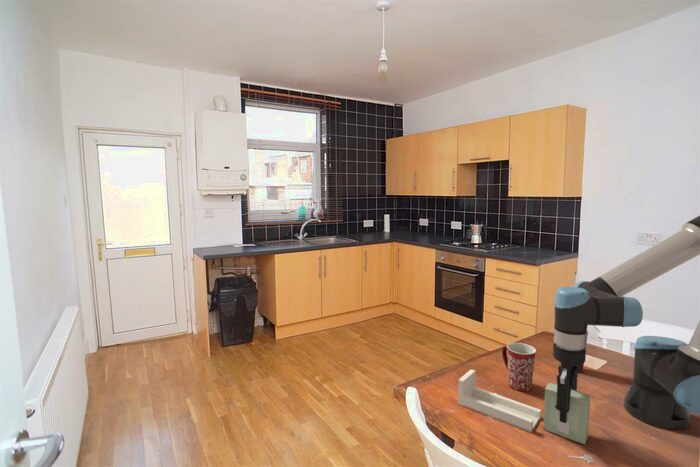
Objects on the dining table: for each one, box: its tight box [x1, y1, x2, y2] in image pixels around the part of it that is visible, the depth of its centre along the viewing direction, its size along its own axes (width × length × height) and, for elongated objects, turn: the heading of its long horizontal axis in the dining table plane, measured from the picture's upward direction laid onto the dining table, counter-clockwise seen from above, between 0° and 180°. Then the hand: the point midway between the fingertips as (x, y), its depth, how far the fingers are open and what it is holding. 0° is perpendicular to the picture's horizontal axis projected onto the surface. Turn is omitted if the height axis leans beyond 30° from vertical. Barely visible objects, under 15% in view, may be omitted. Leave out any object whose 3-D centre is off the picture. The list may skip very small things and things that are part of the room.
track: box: [457, 369, 542, 433], centre depth 113 cm, size 22×9×8 cm, turn 48°
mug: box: [501, 342, 537, 392], centre depth 129 cm, size 13×9×14 cm
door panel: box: [543, 382, 591, 445], centre depth 102 cm, size 10×4×12 cm, turn 48°
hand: (565, 427), depth 103 cm, fingers closed on door panel, 4 cm apart
